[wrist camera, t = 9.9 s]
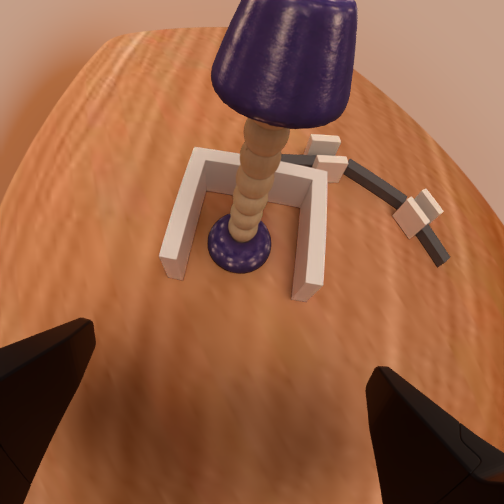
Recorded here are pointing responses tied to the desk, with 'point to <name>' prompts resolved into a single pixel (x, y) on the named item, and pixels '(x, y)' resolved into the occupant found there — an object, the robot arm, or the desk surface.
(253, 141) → the toy lamp
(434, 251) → the cable run
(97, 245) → the desk surface
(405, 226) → the clip
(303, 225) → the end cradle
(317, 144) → the clip
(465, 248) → the desk surface
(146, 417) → the desk surface
